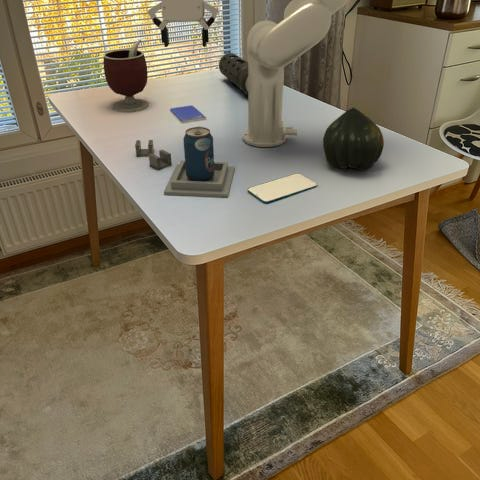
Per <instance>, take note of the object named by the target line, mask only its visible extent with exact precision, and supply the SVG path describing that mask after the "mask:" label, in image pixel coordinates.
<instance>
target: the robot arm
mask: <svg viewBox="0 0 480 480" xmlns="http://www.w3.org/2000/svg"><path fill="white" fill-rule="evenodd" d="M349 1H350V0H291V1H290V2H289V3H288V4H287V6H286V7H285V9H284V12H283V19H282V20H281V21H280V22H278V23H276V22H275V21H273V20H261V21H257V23H255V24H254V25H253V26H252V27H251V29H250V30H249V31H248V35H247V39H246V52H247V62H248V72H249V84H248V95H247V96H248V97H247V99H248V106H247V107H248V113H247V116H248V117H247V118H248V121H247V122H248V126H247V129H248V130H246V131H245V132H243V134H242V139H243V141H244V142H245V143H246V144H247V145H250V146H254V147H256V148H257V147H258V148H271V147H277V146H279V145H282V144H285V142H286V141H287V136H290V137H291V136H294V137H297V136H298V128H294V127H293V126H290V125H289V126H286V125H284V124H283V122H284V121H283V99H284V98H283V97H284V95H283V94H284V80H285V79H284V76H285V75H284V73H285V70H284V69H285V67H286V66H287V65H289V64H290V63H293V61H295V60H296V59H298V58H299V57H300V56H302V55H303V54H305V53H306V52H308V51H309V50H311V49H312V48H313V47H314V46H316V45H317V44H318V43H320V42H321V41H322V40H323V39H324V38H325V37H326V35H327V33H328V32H329V30H330V28H331V24H332V16H333V15H334V14H336V12H338V11H339V10H340V9H342V8H343V7H344V6H345V5H346V4H347V3H348V2H349ZM160 10H161V15H162V20H161V19H160V18H159V17H158V16H157V14H156V12H158V11H160ZM205 10H207V11H208V12H210V13H211V14H210V15H211V16H210V17H209V19H208V20H206V18H205ZM218 13H219V8H217V7H216V6H213V5H212V4H210V3H208V2H206V1H205V0H160V2H159V3H157V4H156V5H154V6H153V7H151V8H150V9H148V10H147V14H148V16H149V18H150V19H151V20H152V23H153V24H154V25H155V26H156V27H157V28H158V29H159V30H160V36H161V37H160V38H161V43H162V44H163V45H164V48H167V47H169V45H170V39H169V36H170V35H169V29H168V27H167V25H168V23H189V22H190V23H193V22H195V23H196V22H198V23H199V24H200V26H201V27H202V29H201V40H202V41H201V42H202V47H203V48H205V47H206V46H207V43H209V41H210V40H209V39H210V38H209V28H210V27H211V26H212V25H213V23H214V22H215V20H216V18H217V16H218Z"/></svg>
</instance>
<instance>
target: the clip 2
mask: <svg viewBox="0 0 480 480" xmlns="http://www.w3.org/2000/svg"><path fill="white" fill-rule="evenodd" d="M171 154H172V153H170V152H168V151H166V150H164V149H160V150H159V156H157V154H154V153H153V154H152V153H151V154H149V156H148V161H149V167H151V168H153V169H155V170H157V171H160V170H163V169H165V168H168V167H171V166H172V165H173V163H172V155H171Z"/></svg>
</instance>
